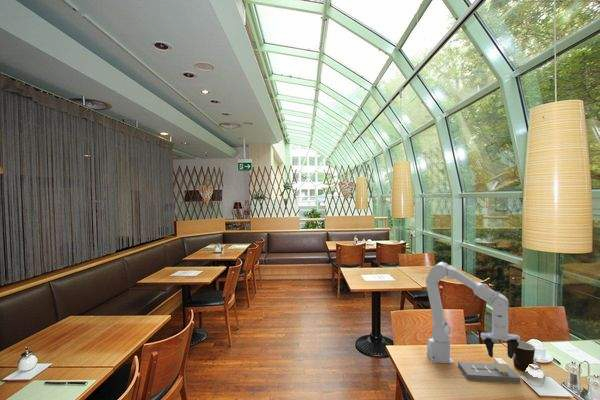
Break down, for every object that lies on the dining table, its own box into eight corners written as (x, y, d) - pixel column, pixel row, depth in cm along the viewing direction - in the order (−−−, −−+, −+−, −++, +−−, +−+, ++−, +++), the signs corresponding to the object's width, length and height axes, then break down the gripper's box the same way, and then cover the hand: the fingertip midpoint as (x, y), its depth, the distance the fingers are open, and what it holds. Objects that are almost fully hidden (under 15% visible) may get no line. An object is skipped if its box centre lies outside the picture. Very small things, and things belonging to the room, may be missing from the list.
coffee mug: (535, 376, 126) (535, 351, 126) (510, 369, 131) (510, 346, 132) (535, 364, 135) (534, 341, 136) (511, 358, 141) (511, 336, 141)
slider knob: (499, 372, 125) (499, 363, 125) (494, 366, 130) (493, 357, 130) (507, 372, 125) (507, 363, 125) (501, 366, 129) (501, 358, 129)
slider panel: (467, 379, 124) (467, 374, 124) (458, 366, 134) (458, 361, 134) (520, 382, 122) (520, 377, 122) (506, 369, 132) (506, 364, 132)
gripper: (486, 327, 124) (486, 360, 124) (524, 329, 122) (524, 362, 122) (478, 320, 131) (478, 352, 131) (514, 322, 130) (514, 354, 129)
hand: (500, 356), depth 127 cm, fingers open, 7 cm apart
